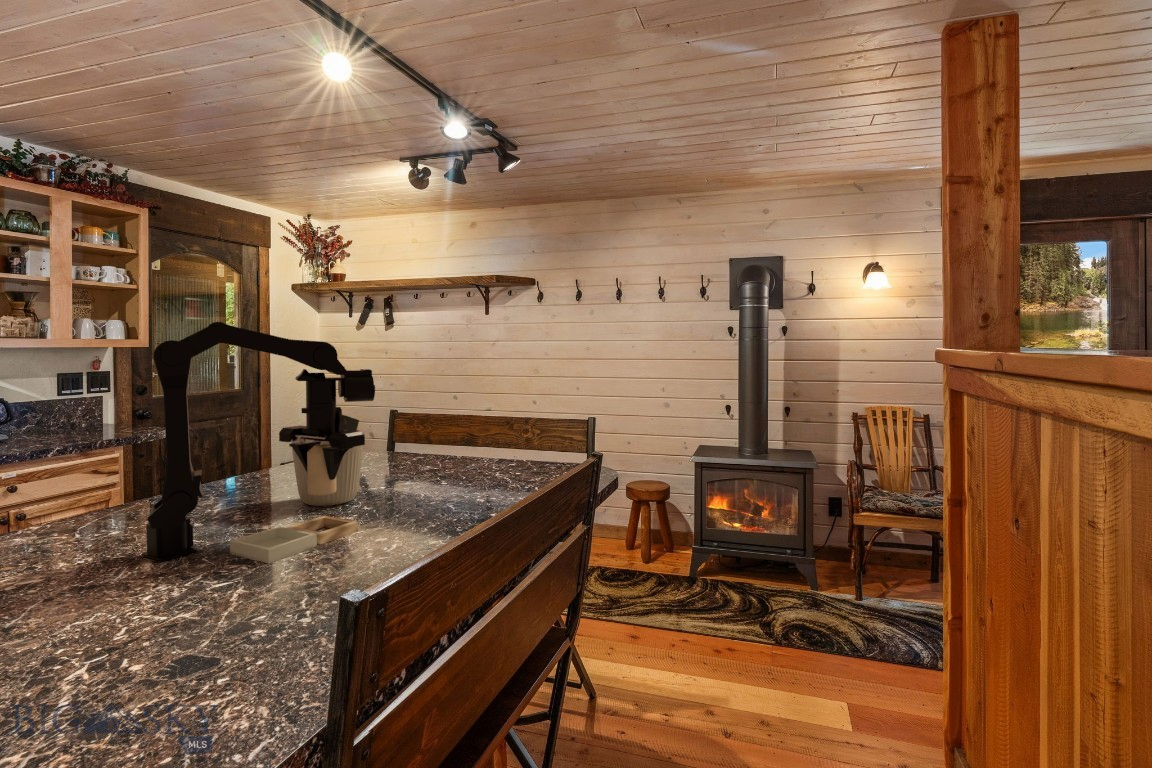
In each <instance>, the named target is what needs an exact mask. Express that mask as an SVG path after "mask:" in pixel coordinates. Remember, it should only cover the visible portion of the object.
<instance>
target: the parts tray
mask: <svg viewBox="0 0 1152 768" xmlns="http://www.w3.org/2000/svg"><path fill="white" fill-rule="evenodd" d="M316 547H318V544H317V534H315V533H310V532H305V531H300V530H295V529H290V528H285V527H284V526H276V527H275V526H274V527H272V528H269V529H265V530H262V531H258V532H256V533H251V534H249V535H246V536H242V537H238V538H236V539H232V540H229V555H232V556H236V557H240V558H245V559H249V560H253V561H258V562H261V563H266V564H271V563H274V562H277V561H279V560H283V559H286V558H288V557H291V556H294V555H297V554H299V553H303V552H305V551H308V550H311V549H313V548H316Z"/></svg>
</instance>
